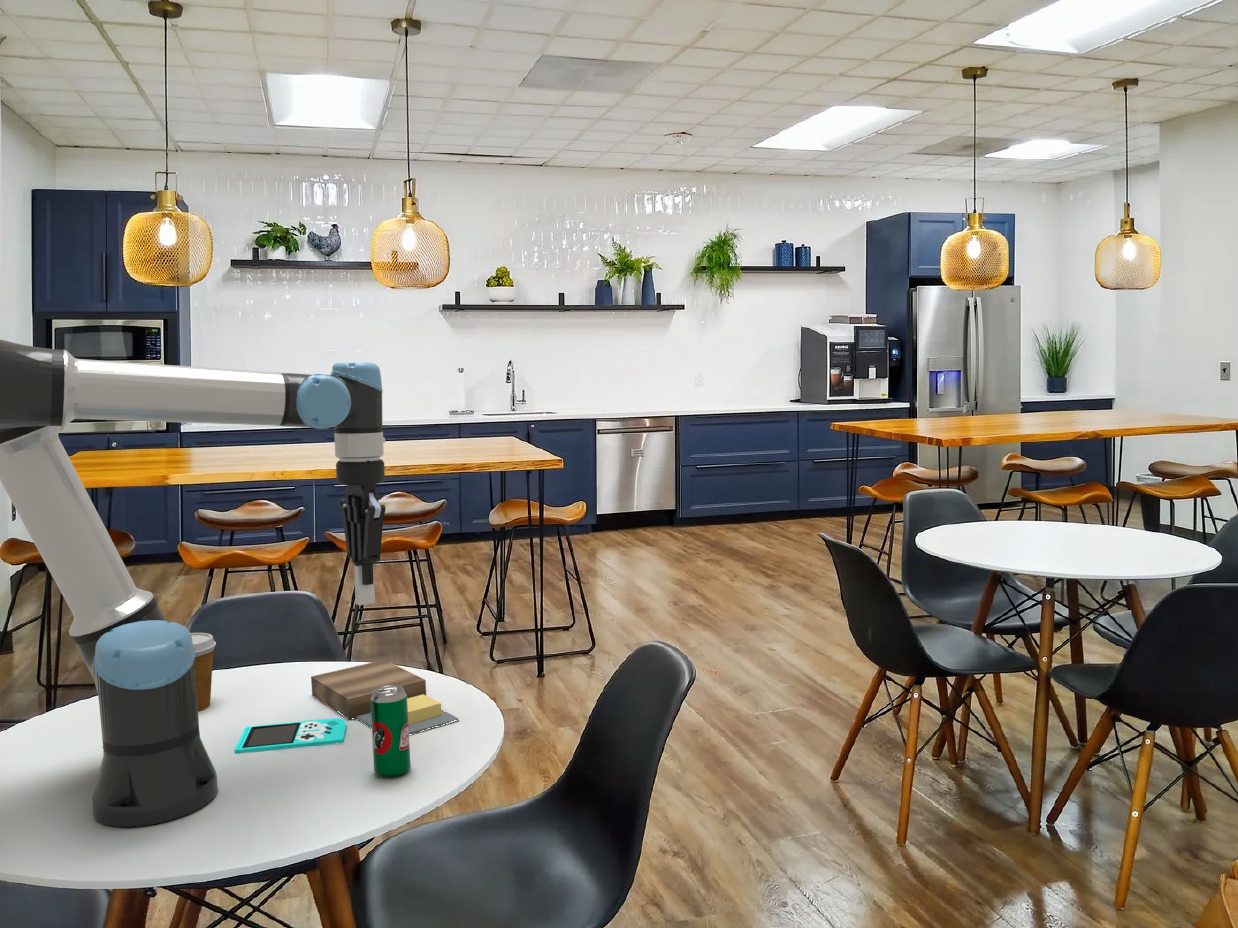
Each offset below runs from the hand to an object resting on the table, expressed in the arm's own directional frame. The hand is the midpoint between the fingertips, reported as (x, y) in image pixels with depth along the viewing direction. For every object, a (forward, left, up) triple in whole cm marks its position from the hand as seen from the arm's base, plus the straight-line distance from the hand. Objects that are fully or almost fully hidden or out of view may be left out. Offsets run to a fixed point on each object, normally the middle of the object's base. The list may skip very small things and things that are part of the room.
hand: (365, 603), depth 157 cm
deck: (+9, -4, -19) cm, 22 cm away
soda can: (-23, +7, -19) cm, 31 cm away
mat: (-5, -4, -19) cm, 20 cm away
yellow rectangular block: (-5, -4, -17) cm, 18 cm away
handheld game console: (+1, +13, -20) cm, 24 cm away
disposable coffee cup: (+26, +21, -19) cm, 39 cm away
